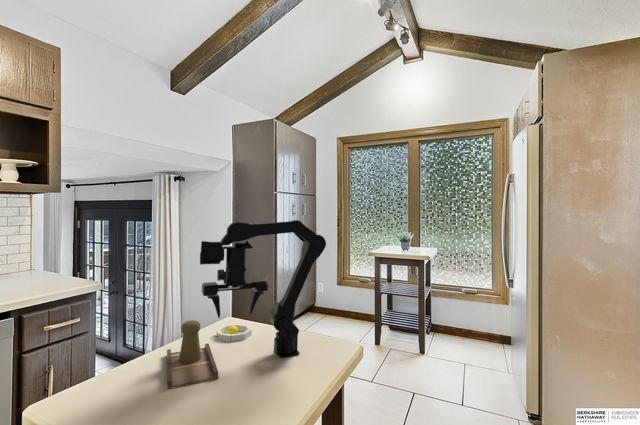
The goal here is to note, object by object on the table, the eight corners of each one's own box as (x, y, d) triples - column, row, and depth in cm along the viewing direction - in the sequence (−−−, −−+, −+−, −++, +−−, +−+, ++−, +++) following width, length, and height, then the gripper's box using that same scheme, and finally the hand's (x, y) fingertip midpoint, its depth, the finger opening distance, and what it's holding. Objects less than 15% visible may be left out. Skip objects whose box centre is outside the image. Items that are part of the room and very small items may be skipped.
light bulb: (239, 335, 114) (238, 327, 112) (223, 342, 111) (221, 334, 110) (237, 329, 116) (235, 322, 115) (221, 336, 114) (219, 329, 112)
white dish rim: (246, 327, 121) (246, 322, 121) (254, 338, 111) (254, 332, 111) (215, 332, 116) (215, 326, 116) (220, 343, 106) (220, 337, 106)
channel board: (208, 348, 101) (208, 343, 101) (218, 378, 82) (218, 371, 82) (166, 355, 96) (167, 349, 96) (167, 389, 77) (167, 381, 77)
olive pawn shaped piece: (175, 358, 92) (176, 321, 92) (195, 353, 96) (196, 317, 97) (183, 365, 88) (184, 326, 88) (204, 359, 92) (205, 321, 92)
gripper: (259, 259, 106) (258, 305, 106) (200, 261, 98) (199, 312, 97) (268, 263, 96) (267, 314, 96) (204, 266, 88) (203, 322, 87)
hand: (234, 315), depth 94 cm, fingers open, 9 cm apart
